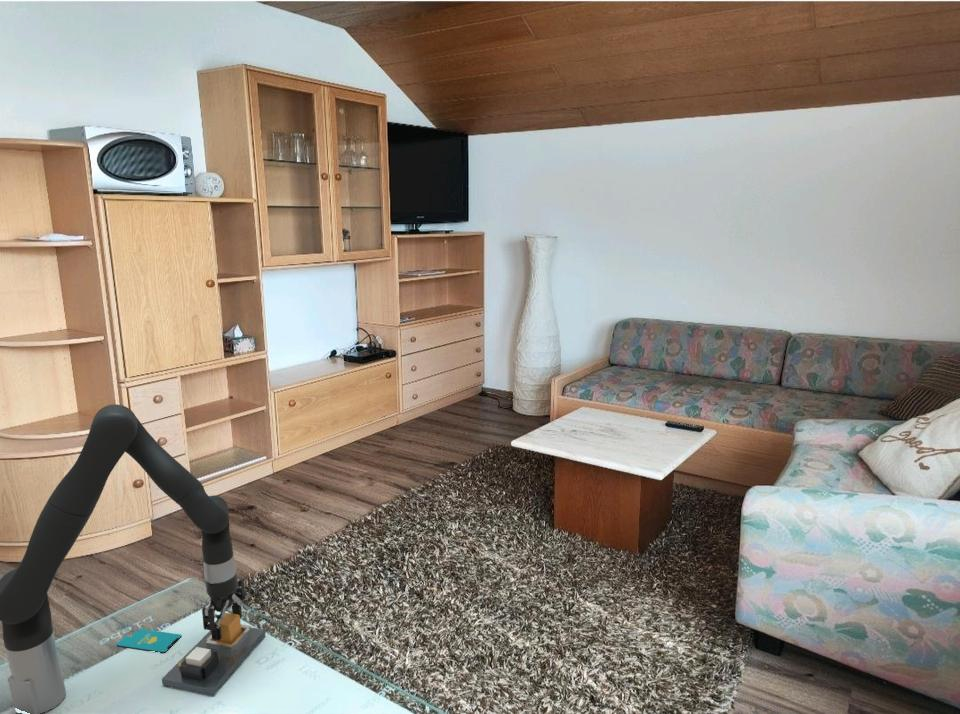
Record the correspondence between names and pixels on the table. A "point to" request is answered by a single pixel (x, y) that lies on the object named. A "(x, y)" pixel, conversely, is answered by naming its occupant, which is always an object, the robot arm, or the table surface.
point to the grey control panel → (214, 663)
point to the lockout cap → (230, 628)
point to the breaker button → (198, 656)
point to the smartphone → (150, 641)
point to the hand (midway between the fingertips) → (227, 628)
